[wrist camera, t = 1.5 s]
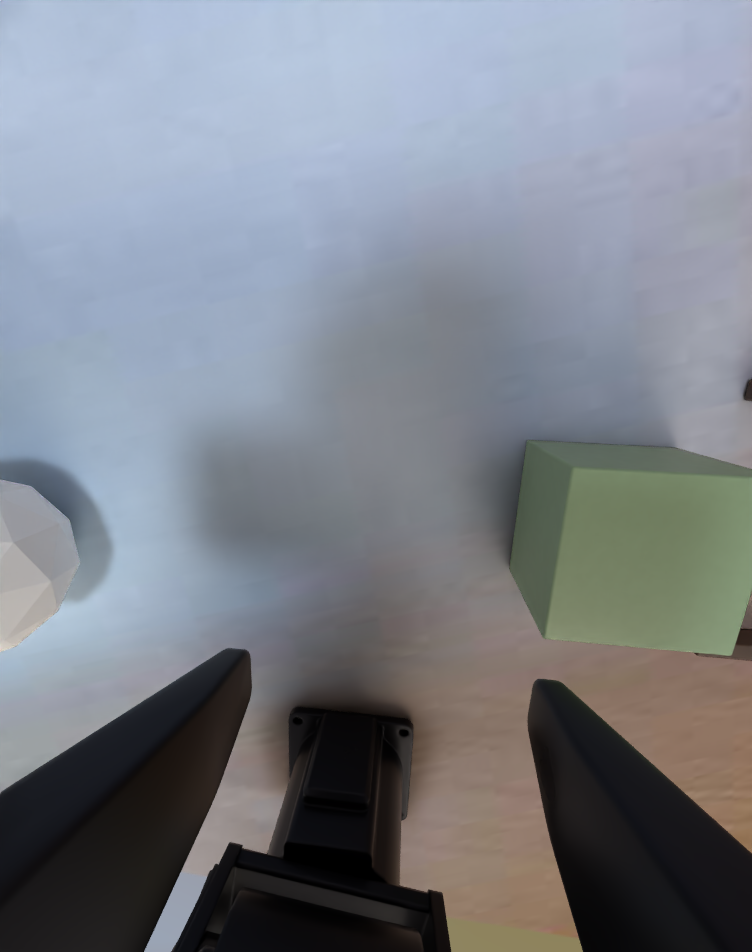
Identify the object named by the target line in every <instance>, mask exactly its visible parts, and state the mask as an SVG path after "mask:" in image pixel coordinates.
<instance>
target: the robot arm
mask: <svg viewBox="0 0 752 952" xmlns="http://www.w3.org/2000/svg"><path fill="white" fill-rule="evenodd" d="M251 691H252V679H251V658H250V654H249V652H248V651H247V650H245V649H235V648H227V649H225V650H223V651H221V652H220V653H218V654H217V655H215V656H213V657H212V658H210V659H209V660H207V661H206V662H204V663H202V664H201V665H199V666H198V667H196V668H195V669H193V670H191V671H190V672H188V673H187V674H185V675H184V676H182V677H180V678H179V679H177V680H176V681H174V682H173V683H171V684H169V685H168V686H166V687H165V688H163V689H162V690H160V691H158V692H157V693H155V694H154V695H152V696H151V697H149V698H147V699H146V700H144V701H143V702H141V703H140V704H138V705H137V706H135V707H133V708H132V709H130V710H129V711H127V712H126V713H124V714H122V715H121V716H119V717H118V718H116V719H115V720H113V721H111V722H110V723H108V724H107V725H105V726H104V727H102V728H100V729H99V730H97V731H96V732H94V733H93V734H91V735H89V736H88V737H86V738H85V739H83V740H82V741H80V742H78V743H77V744H75V745H74V746H72V747H71V748H69V749H67V750H66V751H64V752H63V753H61V754H60V755H58V756H57V757H55V758H53V759H52V760H50V761H49V762H47V763H46V764H44V765H42V766H41V767H39V768H38V769H36V770H35V771H33V772H31V773H30V774H28V775H27V776H25V777H24V778H22V779H20V780H19V781H17V782H16V783H14V784H13V785H11V786H9V787H8V788H6V789H5V790H3V791H2V792H1V793H0V952H144V950H145V948H146V946H147V944H148V942H149V939H150V937H151V935H152V933H153V931H154V928H155V927H156V924H157V922H158V920H159V918H160V916H161V913H162V911H163V909H164V907H165V905H166V903H167V900H168V898H169V896H170V894H171V892H172V890H173V887H174V885H175V883H176V881H177V879H178V877H179V874H180V872H181V870H182V868H183V866H184V863H185V861H186V859H187V857H188V855H189V853H190V850H191V848H192V846H193V844H194V842H195V840H196V837H197V835H198V833H199V831H200V829H201V827H202V824H203V822H204V820H205V818H206V816H207V813H208V811H209V809H210V807H211V805H212V802H213V800H214V798H215V795H216V793H217V790H218V788H219V785H220V782H221V780H222V777H223V774H224V771H225V769H226V766H227V763H228V760H229V757H230V754H231V752H232V749H233V746H234V743H235V740H236V737H237V735H238V732H239V729H240V726H241V723H242V720H243V718H244V715H245V712H246V709H247V706H248V703H249V700H250V697H251ZM297 717H300V718H301V719H300V718H297ZM401 729H406V730H401ZM528 732H529V738H530V743H531V748H532V753H533V758H534V763H535V768H536V773H537V778H538V783H539V788H540V793H541V798H542V803H543V808H544V813H545V818H546V823H547V827H548V832H549V836H550V840H551V844H552V847H553V851H554V855H555V858H556V862H557V865H558V868H559V872H560V875H561V878H562V882H563V885H564V889H565V892H566V895H567V899H568V902H569V906H570V909H571V912H572V916H573V919H574V923H575V926H576V929H577V933H578V936H579V940H580V943H581V946H582V950H583V952H752V853H751V852H749V851H748V850H747V849H746V848H745V847H744V846H743V845H742V844H741V843H739V842H738V841H737V840H736V839H735V838H734V837H733V836H732V835H731V834H729V833H728V832H727V831H726V830H725V829H724V828H723V827H722V826H721V825H719V824H718V823H717V822H716V821H715V820H714V819H713V818H712V817H711V816H709V815H708V814H707V813H706V812H705V811H704V810H703V809H702V808H701V807H699V806H698V805H697V804H696V803H695V802H694V801H693V800H692V799H691V798H689V797H688V796H687V795H686V794H685V793H684V792H683V791H682V790H681V789H679V788H678V787H677V786H676V785H675V784H674V783H673V782H672V781H671V780H669V779H668V778H667V777H666V776H665V775H664V774H663V773H662V772H661V771H659V770H658V769H657V768H656V767H655V766H654V765H653V764H652V763H651V762H649V761H648V760H647V759H646V758H645V757H644V756H643V755H642V754H641V753H639V752H638V751H637V750H636V749H635V748H634V747H633V746H632V745H631V744H629V743H628V742H627V741H626V740H625V739H624V738H623V737H622V736H621V735H619V734H618V733H617V732H616V731H615V730H614V729H613V728H612V727H611V726H609V725H608V724H607V723H606V722H605V721H604V720H603V719H602V718H601V717H599V716H598V715H597V714H596V713H595V712H594V711H593V710H592V709H591V708H589V707H588V706H587V705H586V704H585V703H584V702H583V701H582V700H581V699H579V698H578V697H577V696H576V695H575V694H574V693H573V692H572V691H571V690H569V689H568V688H567V687H566V686H565V685H564V684H563V683H561V682H559V681H556V680H546V679H537V680H536V681H535V682H534V684H533V688H532V694H531V700H530V706H529V712H528ZM412 746H413V724H412V722H411V721H410V720H408V719H405V718H396V717H387V716H378V715H369V714H360V713H351V712H342V711H332V710H323V709H314V708H305V707H296V708H294V709H293V710H292V711H291V714H290V717H289V766H290V781H289V784H288V787H287V791H286V794H285V797H284V801H283V804H282V807H281V810H280V814H279V817H278V820H277V823H276V827H275V830H274V833H273V837H272V840H271V843H270V846H269V850H268V853H267V854H265V853H260V852H256V851H252V850H248V849H244V848H242V847H243V845H240V844H236V843H232V842H229V844H228V846H227V848H226V850H225V852H224V855H223V857H222V859H221V861H220V863H219V865H218V864H215V866H214V868H213V870H211V871H210V872H209V874H208V877H207V879H206V882H205V884H204V887H203V889H202V891H201V894H200V896H199V899H198V901H197V903H196V905H195V907H194V909H193V911H192V913H191V915H190V917H189V919H188V921H187V923H186V925H185V927H184V930H183V931H182V933H181V936H180V938H179V940H178V942H177V943H176V945H175V946H174V948H173V950H172V951H171V952H451V947H450V941H449V934H448V927H447V920H446V913H445V907H444V900H443V894H442V892H437V891H433V890H429V889H428V892H424V891H420V890H416V889H411V888H407V887H403V886H399V884H400V848H401V821H402V820H404V819H405V818H406V817H407V809H408V796H409V784H410V771H411V759H412Z"/></svg>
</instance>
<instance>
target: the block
mask: <svg viewBox="0 0 752 952" xmlns="http://www.w3.org/2000/svg"><path fill="white" fill-rule="evenodd" d="M509 569H510V572H511V574H512V576H513V578H514V580H515V582H516V584H517V586H518V588H519V590H520V592H521V594H522V596H523V598H524V600H525V602H526V604H527V606H528V608H529V610H530V612H531V614H532V616H533V618H534V620H535V622H536V625H537V627H538V629H539V631H540V633H541V635H542V637H543V638H544V639H551V640H562V641H573V642H584V643H595V644H606V645H617V646H628V647H639V648H650V649H661V650H671V651H682V652H693V653H704V654H715V655H726V656H731V655H732V653H733V650H734V647H735V644H736V640H737V637H738V634H739V631H740V628H741V624H742V621H743V618H744V615H745V612H746V608H747V605H748V602H749V599H750V596H751V592H752V469H749V468H746V467H742V466H739V465H735V464H731V463H728V462H724V461H721V460H717V459H714V458H710V457H707V456H703V455H699V454H696V453H692V452H689V451H685V450H682V449H678V448H668V447H649V446H630V445H612V444H593V443H574V442H555V441H537V440H528V441H527V443H526V450H525V458H524V465H523V472H522V479H521V487H520V494H519V501H518V509H517V516H516V523H515V530H514V538H513V545H512V552H511V560H510V567H509Z"/></svg>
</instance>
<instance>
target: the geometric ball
mask: <svg viewBox="0 0 752 952" xmlns="http://www.w3.org/2000/svg"><path fill="white" fill-rule="evenodd" d="M79 564H80V559H79V555H78V551H77V547H76V543H75V539H74V535H73V531H72V527H71V523H70V520H69V519H68V518H67V517H66V516H65V515H64V514H63V513H61V512H60V511H59V510H58V509H57V508H56V507H55V506H53V505H52V504H51V503H50V502H49V501H48V500H47V499H45V498H44V497H43V496H42V495H41V494H40V493H38V492H37V491H36V490H35V489H34V488H33V487H32V486H28V485H23V484H19V483H14V482H10V481H5V480H1V479H0V652H1V651H4V650H7V649H10V648H13V647H16V646H17V645H18V644H20V643H21V642H22V641H23V640H24V639H25V638H27V637H28V636H29V635H30V634H31V633H32V632H34V631H35V630H36V629H37V628H38V627H40V626H41V625H42V624H43V623H44V622H45V621H47V620H48V619H49V618H50V617H51V616H53V615H54V614H55V613H56V612H57V611H58V610H59V608H60V606H61V603H62V601H63V599H64V597H65V595H66V593H67V590H68V588H69V586H70V584H71V582H72V579H73V577H74V575H75V573H76V571H77V569H78V566H79Z"/></svg>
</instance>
